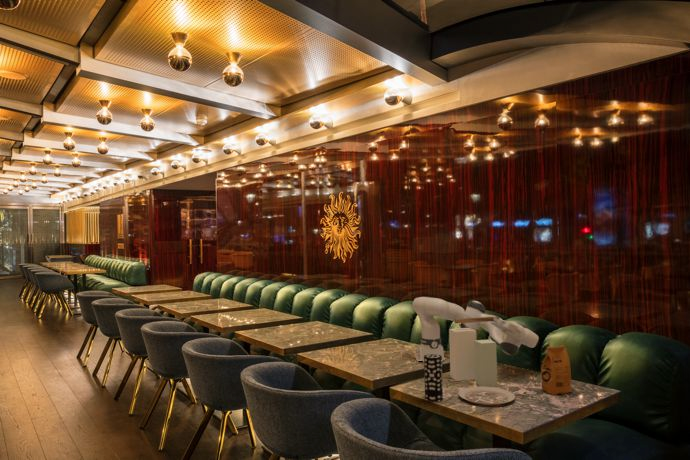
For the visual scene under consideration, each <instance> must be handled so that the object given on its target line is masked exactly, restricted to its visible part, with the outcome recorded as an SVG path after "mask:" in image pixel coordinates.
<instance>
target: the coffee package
mask: <svg viewBox="0 0 690 460" xmlns="http://www.w3.org/2000/svg"><path fill="white" fill-rule="evenodd" d="M545 350H546V353H545V357H544V359H543V360H542V364H541V367H540V368H541V369H540V370H541V389H542V391H543V392H546V393H547V394H549V395H553V396H555V395H558V394H561V395H565V394H568V393H571V392H572V375H571V374H572V372H571V371H572V370H571V359H570V357H569V354H568V352H567V348H566V346H565V345H564V344H562V345H560V346H559V345H558V346H557V347H556V346H545Z"/></svg>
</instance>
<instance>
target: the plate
mask: <svg viewBox="0 0 690 460" xmlns="http://www.w3.org/2000/svg"><path fill="white" fill-rule="evenodd" d="M474 392H475V393H492V394H497V395H501V396H503V397H505V398H507V401H504V402H495V403H494V402H493V403H492V402H490V403H489V402H481V401H480V402H478V401H474V400H471V399H468V398H466V397H467V395H469V394H473V393H474ZM458 396H459V397H460V398H461V399H464V400H466V401H468V402H470V403H473V404H475V405H476V404H477V405H480V406H481V405H482V406H499V405H504V404H506V403H509V402H512V401H514V400H515V398H516V396H515V394H514V393H513V392H511V391H510V390H506V389H503V388H499V387H496V386H494V387H481V386H480V385H479V386H469V387H468V386H467V387H464V388H463V389H460V390H459V391H458Z"/></svg>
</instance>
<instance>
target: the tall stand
mask: <svg viewBox="0 0 690 460" xmlns="http://www.w3.org/2000/svg"><path fill="white" fill-rule="evenodd" d="M448 333H449V335H448V336H449V338H448V339H449V374H450V378H451V379H453V381H456V382H460V381H461V382H462V381H473V380H475V381H476V379H475V343H474V340H477V339H478V338H477V334H476V330H474V329H471V328H461V327H460V328H459V327H458V328H449V330H448Z"/></svg>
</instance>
